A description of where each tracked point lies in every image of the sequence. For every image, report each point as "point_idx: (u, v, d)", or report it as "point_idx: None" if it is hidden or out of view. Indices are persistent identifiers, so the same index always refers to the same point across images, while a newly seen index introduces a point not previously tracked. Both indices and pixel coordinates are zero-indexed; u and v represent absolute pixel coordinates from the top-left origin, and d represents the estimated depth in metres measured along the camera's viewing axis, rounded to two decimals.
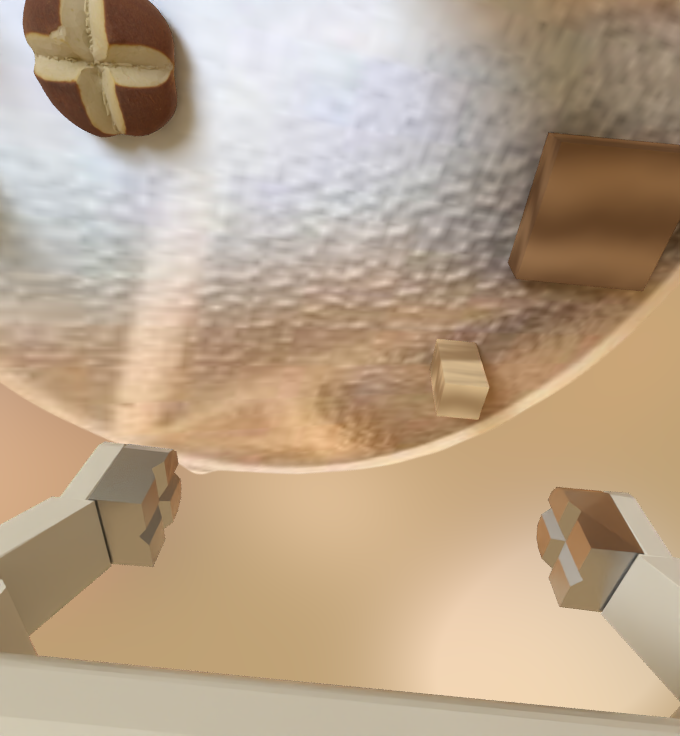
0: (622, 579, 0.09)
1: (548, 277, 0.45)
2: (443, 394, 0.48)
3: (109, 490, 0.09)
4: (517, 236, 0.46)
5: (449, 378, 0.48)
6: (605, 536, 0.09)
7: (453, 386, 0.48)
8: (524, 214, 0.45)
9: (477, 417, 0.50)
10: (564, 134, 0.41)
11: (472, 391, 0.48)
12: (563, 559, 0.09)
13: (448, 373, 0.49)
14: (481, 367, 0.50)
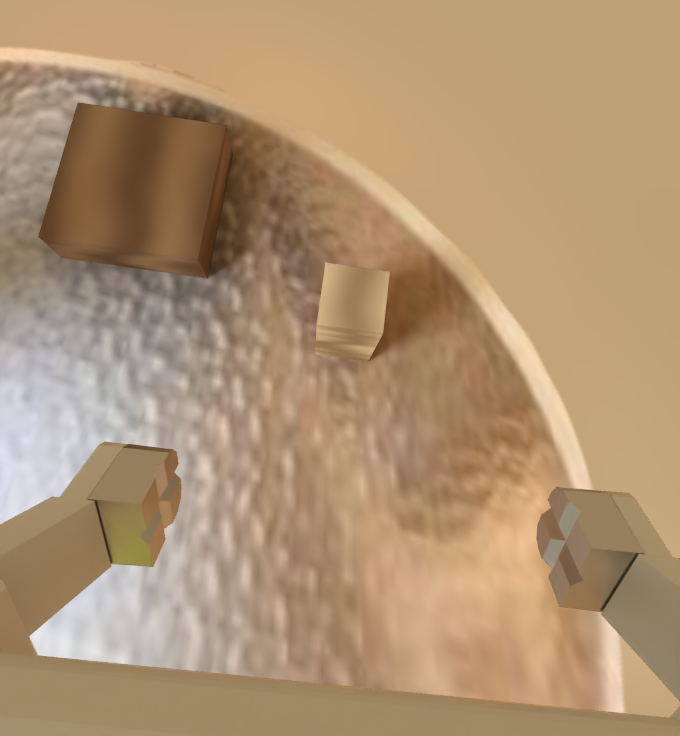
0: (622, 580, 0.09)
1: (198, 224, 0.37)
2: (339, 325, 0.31)
3: (109, 490, 0.09)
4: (171, 271, 0.39)
5: None
6: (605, 536, 0.09)
7: (323, 312, 0.32)
8: (145, 267, 0.39)
9: (385, 273, 0.32)
10: None
11: (332, 285, 0.32)
12: (563, 559, 0.09)
13: None
14: None
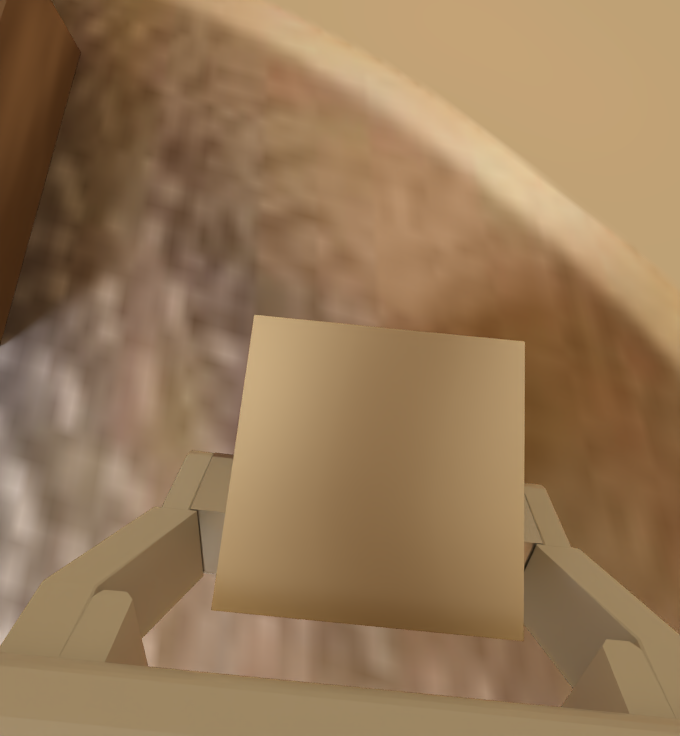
0: (524, 570, 0.09)
1: None
2: (319, 608, 0.07)
3: (209, 500, 0.09)
4: None
5: None
6: None
7: (242, 545, 0.07)
8: None
9: (506, 348, 0.08)
10: None
11: (282, 412, 0.07)
12: None
13: None
14: None
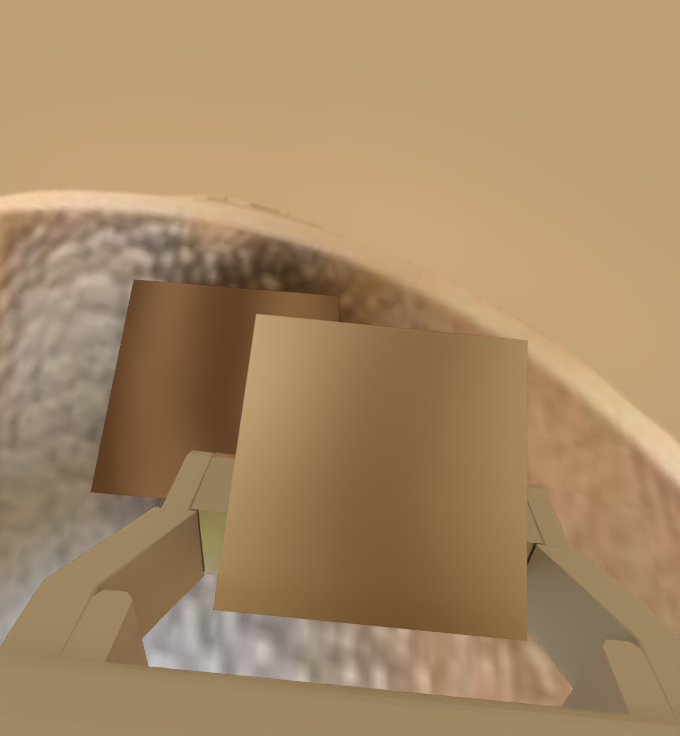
0: None
1: None
2: (321, 608, 0.07)
3: (209, 499, 0.09)
4: None
5: None
6: None
7: (244, 545, 0.07)
8: None
9: (509, 347, 0.08)
10: None
11: (285, 411, 0.07)
12: None
13: None
14: None
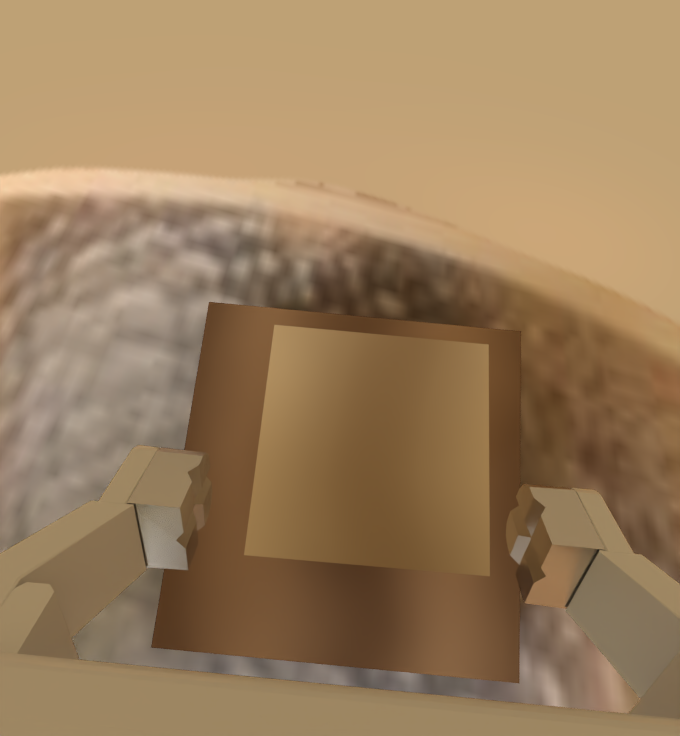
0: (584, 576, 0.09)
1: (506, 585, 0.16)
2: (329, 553, 0.09)
3: (147, 494, 0.09)
4: None
5: None
6: (567, 532, 0.09)
7: (267, 505, 0.09)
8: None
9: (474, 350, 0.10)
10: None
11: (298, 400, 0.09)
12: (528, 556, 0.09)
13: None
14: None
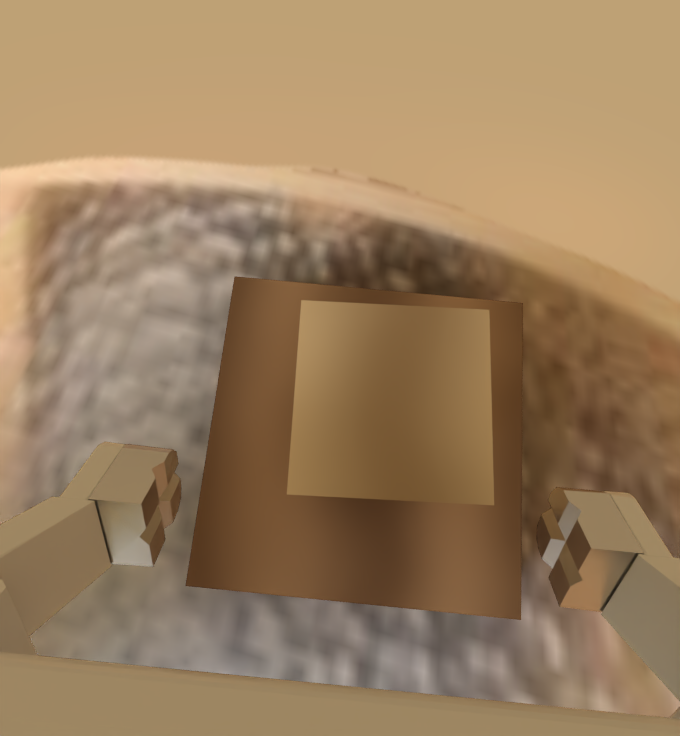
0: (622, 579, 0.09)
1: (508, 533, 0.18)
2: (357, 490, 0.10)
3: (109, 490, 0.09)
4: None
5: None
6: (605, 536, 0.09)
7: (304, 452, 0.10)
8: None
9: (476, 315, 0.11)
10: None
11: (325, 364, 0.11)
12: (563, 559, 0.09)
13: None
14: None
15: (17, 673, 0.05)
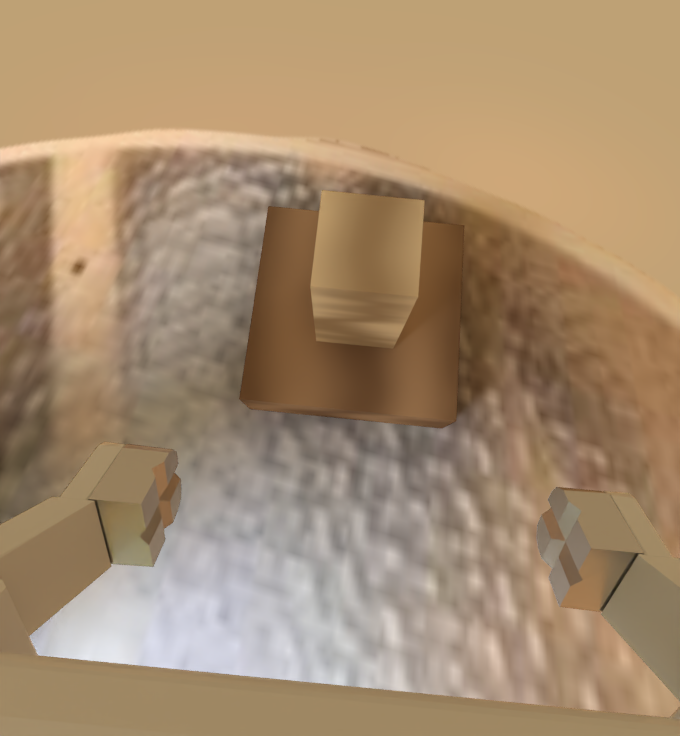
0: (622, 580, 0.09)
1: (450, 369, 0.27)
2: (347, 286, 0.19)
3: (109, 490, 0.09)
4: (395, 423, 0.29)
5: None
6: (605, 536, 0.09)
7: (320, 267, 0.20)
8: (361, 419, 0.29)
9: (417, 203, 0.20)
10: None
11: (333, 224, 0.20)
12: (563, 559, 0.09)
13: None
14: None
15: (17, 673, 0.05)
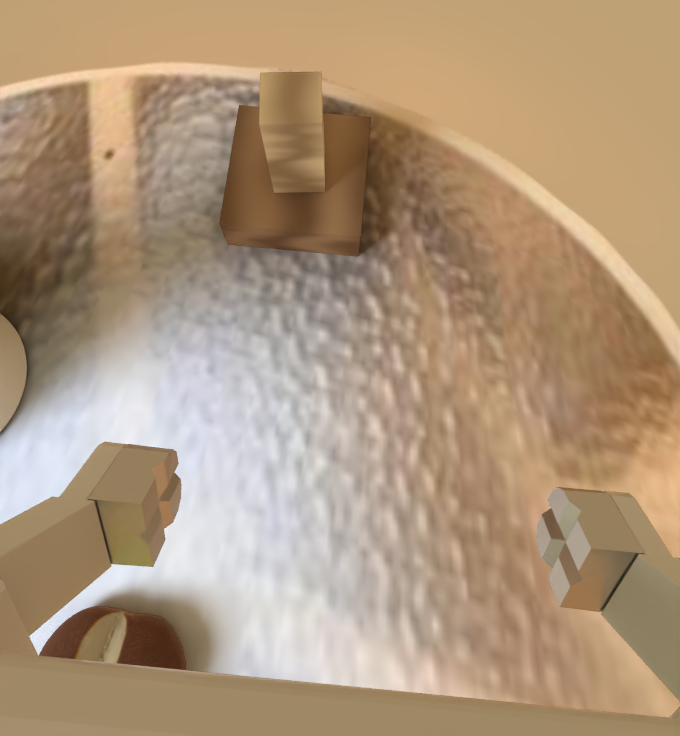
0: (622, 579, 0.09)
1: (357, 206, 0.41)
2: (280, 121, 0.33)
3: (109, 490, 0.09)
4: (326, 251, 0.44)
5: None
6: (605, 536, 0.09)
7: (263, 113, 0.34)
8: (303, 249, 0.43)
9: (317, 73, 0.34)
10: None
11: (269, 90, 0.34)
12: (563, 559, 0.09)
13: None
14: None
15: (17, 673, 0.05)
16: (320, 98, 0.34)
